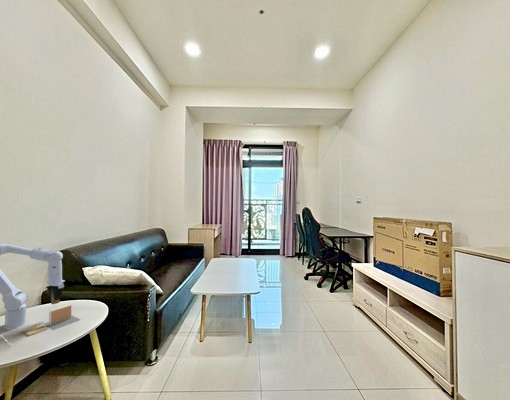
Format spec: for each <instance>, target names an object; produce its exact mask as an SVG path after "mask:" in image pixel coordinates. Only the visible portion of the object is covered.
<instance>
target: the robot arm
mask: <svg viewBox="0 0 510 400" xmlns="http://www.w3.org/2000/svg"><path fill="white" fill-rule="evenodd" d="M8 253H9V254H15V255H23V256H28V257H29V258H30V259H31V260H36V261H43V262H47V263H48V267H47V269H48V276H47V277H48V280H47V281H46V282H47V283H46V284H47V286H46V287H45V288H46V289H47V291H48V294H49V296H50V298H51V290H52V292H53V296H54V300H55V301H56V300H60V301H61V297H62V292H63V291H64V289H65V288H66V287H65V283H64V282H66V280H64V279H63V262H62V261H63V260H62V259H63V257H64V255H63V252H61V251H59V250H53V249H51V250H50V249H45V248H44V249H43V247H36V248H33V249H31V248H28V247H23V246H19V245H14V244H10V243H7V242H6V243H5V242H3V243H2V242H0V256H1V255H5V254H8ZM0 294H1V296H2V297H1V298H2V299H1V301H2V302H3V303H4V304H3V305H4V309H5V310H6V311H5V313H4V324H2V327H3V328H4V329H5V330H6V331H11V330H14V329H17V328H20V327H23V326H26V325H29V324H30V322H28V321H27V304H26V302H27V301H28V299H29V296H28V293H26V292H24V291H22V290H21V289H19V288H17V287H15V286H14V284H13V283H12V282H11V281H10V279H9V278H8V277H7V275H5V273H4V272H3V271H2V269H1V268H0Z"/></svg>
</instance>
